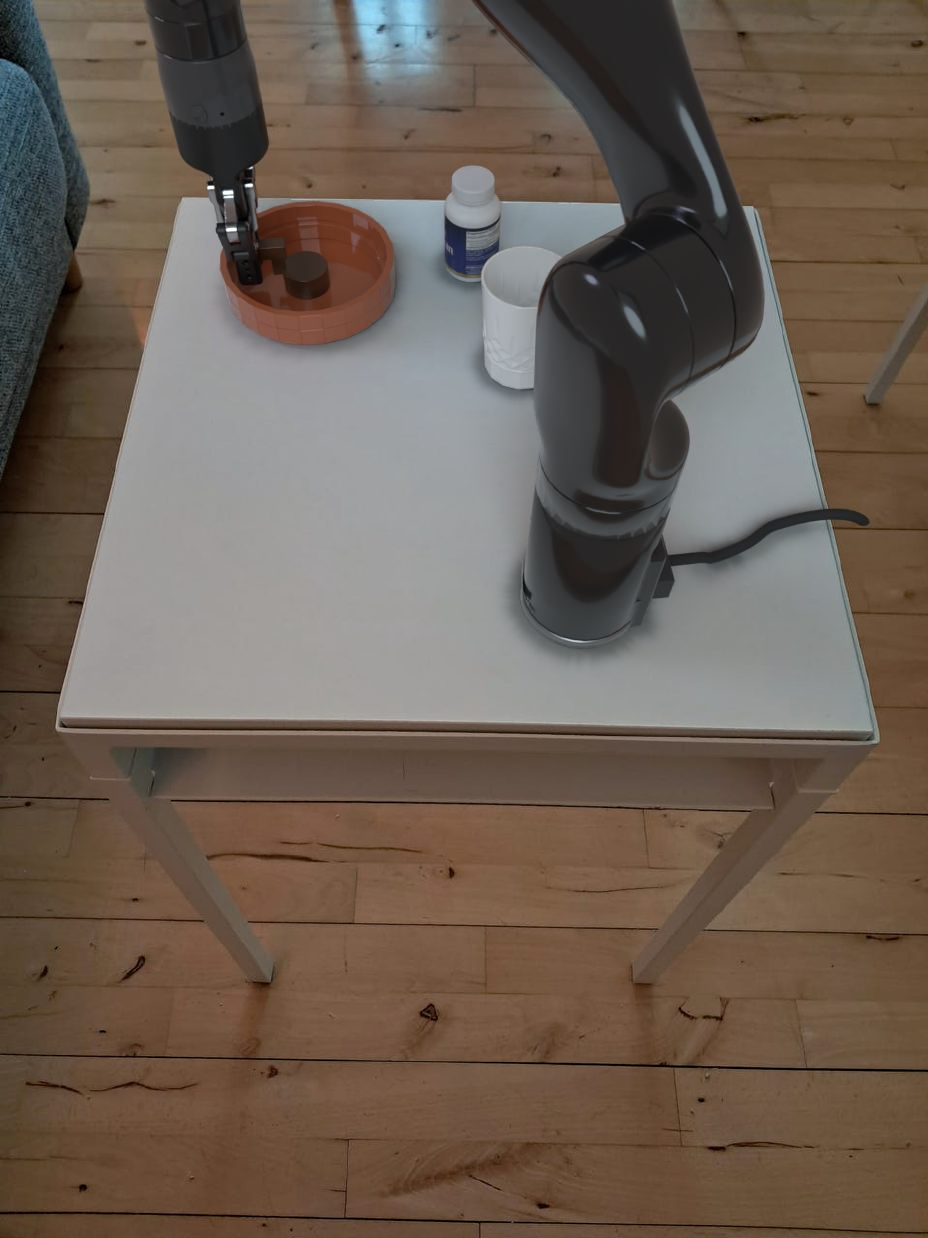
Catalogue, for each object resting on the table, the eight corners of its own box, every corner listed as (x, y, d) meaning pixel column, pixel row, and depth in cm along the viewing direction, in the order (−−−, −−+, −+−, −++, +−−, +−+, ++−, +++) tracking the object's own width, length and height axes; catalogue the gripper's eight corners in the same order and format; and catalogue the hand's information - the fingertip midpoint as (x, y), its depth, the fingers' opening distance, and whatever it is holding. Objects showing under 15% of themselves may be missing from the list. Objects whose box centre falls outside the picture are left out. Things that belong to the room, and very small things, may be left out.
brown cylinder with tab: (329, 267, 93) (323, 224, 89) (331, 298, 91) (325, 254, 87) (234, 273, 93) (224, 230, 88) (234, 304, 91) (223, 261, 86)
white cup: (576, 381, 87) (590, 294, 78) (497, 404, 85) (503, 318, 77) (541, 325, 90) (551, 236, 82) (465, 346, 89) (467, 257, 80)
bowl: (389, 230, 97) (387, 196, 94) (401, 342, 89) (400, 309, 86) (229, 240, 96) (221, 205, 93) (227, 354, 88) (218, 321, 84)
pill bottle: (437, 253, 96) (436, 165, 87) (488, 244, 96) (491, 155, 88) (453, 288, 93) (454, 200, 85) (505, 278, 94) (510, 190, 85)
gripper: (260, 144, 72) (292, 320, 87) (260, 45, 79) (290, 224, 94) (161, 149, 72) (210, 326, 86) (169, 49, 78) (214, 228, 93)
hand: (251, 272), depth 90 cm, fingers closed
